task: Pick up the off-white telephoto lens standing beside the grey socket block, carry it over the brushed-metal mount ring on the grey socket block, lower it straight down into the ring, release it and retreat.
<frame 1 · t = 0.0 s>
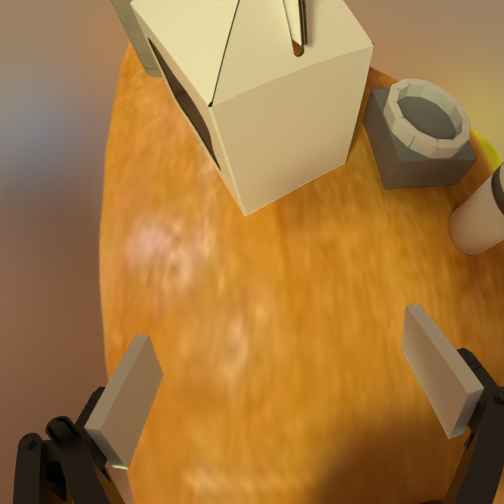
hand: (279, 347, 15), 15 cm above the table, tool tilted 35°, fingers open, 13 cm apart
gable box: (250, 125, 38), on the table
thermos bottle: (168, 62, 43), on the table
grey socket block: (410, 150, 34), on the table
telephoto lens: (469, 230, 31), on the table
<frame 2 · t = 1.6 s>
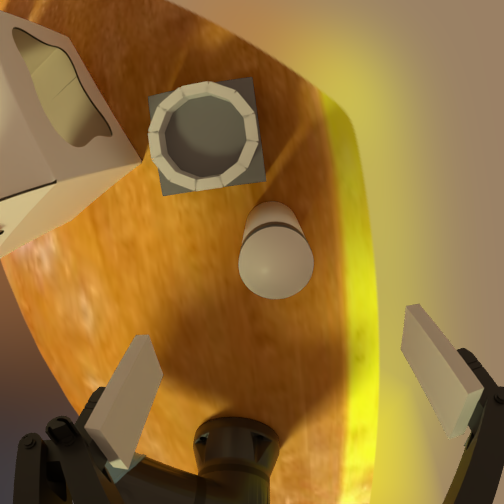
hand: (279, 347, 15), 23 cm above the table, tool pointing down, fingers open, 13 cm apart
gable box: (65, 125, 33), on the table
grey socket block: (214, 137, 34), on the table
telephoto lens: (271, 227, 37), on the table
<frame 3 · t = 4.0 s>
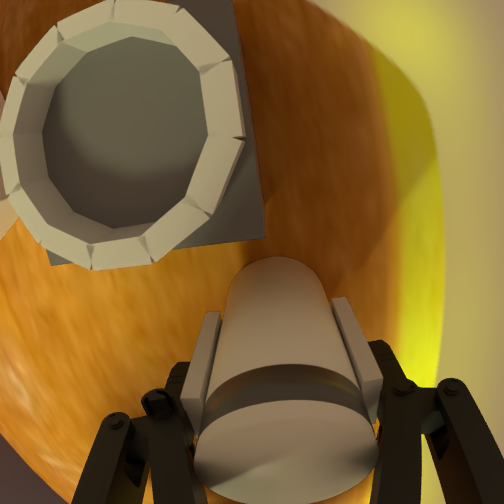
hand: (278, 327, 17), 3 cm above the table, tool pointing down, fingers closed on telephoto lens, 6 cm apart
grey socket block: (163, 132, 16), on the table
telephoto lens: (276, 302, 20), on the table, touching gripper
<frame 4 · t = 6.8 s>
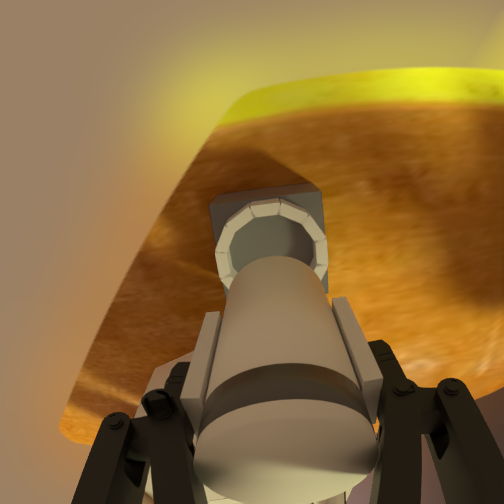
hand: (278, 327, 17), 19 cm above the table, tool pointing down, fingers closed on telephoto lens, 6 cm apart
gable box: (243, 372, 42), on the table
grey socket block: (270, 233, 35), on the table
telephoto lens: (276, 301, 20), point 16 cm above the table, touching gripper
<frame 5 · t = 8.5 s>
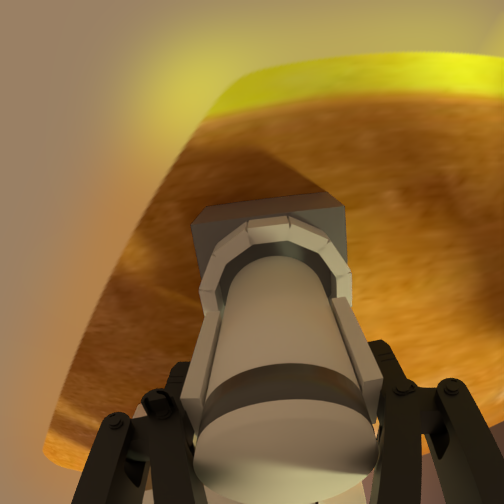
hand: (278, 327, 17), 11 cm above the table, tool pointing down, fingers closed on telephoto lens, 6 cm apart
gable box: (239, 411, 34), on the table
grey socket block: (273, 256, 27), on the table
telephoto lens: (276, 301, 20), point 8 cm above the table, touching gripper
when the fingers open (10 cm above the table, at t = 9.8 s): telephoto lens drops 1 cm, resting on grey socket block.
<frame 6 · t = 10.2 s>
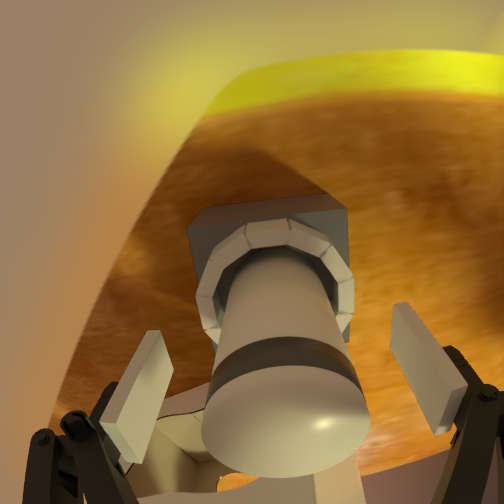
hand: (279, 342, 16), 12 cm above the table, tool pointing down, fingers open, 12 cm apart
gable box: (238, 416, 34), on the table
grey socket block: (273, 259, 27), on the table
telephoto lens: (276, 290, 21), point 6 cm above the table, touching grey socket block
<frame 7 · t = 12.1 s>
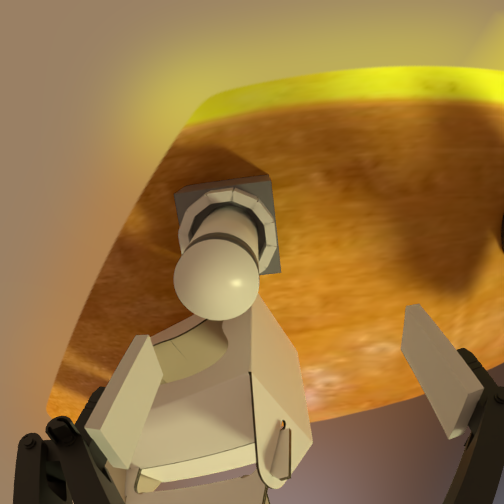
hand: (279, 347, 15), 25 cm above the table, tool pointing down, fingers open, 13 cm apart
gable box: (212, 350, 46), on the table
grey socket block: (232, 220, 39), on the table
telephoto lens: (228, 233, 33), point 6 cm above the table, touching grey socket block
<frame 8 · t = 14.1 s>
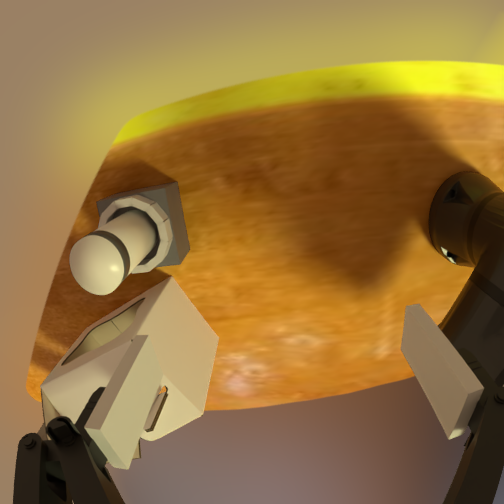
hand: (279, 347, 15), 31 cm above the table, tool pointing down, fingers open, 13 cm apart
gable box: (147, 333, 52), on the table
grey socket block: (151, 221, 45), on the table
telephoto lens: (137, 232, 39), point 6 cm above the table, touching grey socket block
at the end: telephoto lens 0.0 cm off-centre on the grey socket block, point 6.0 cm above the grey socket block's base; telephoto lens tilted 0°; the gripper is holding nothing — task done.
